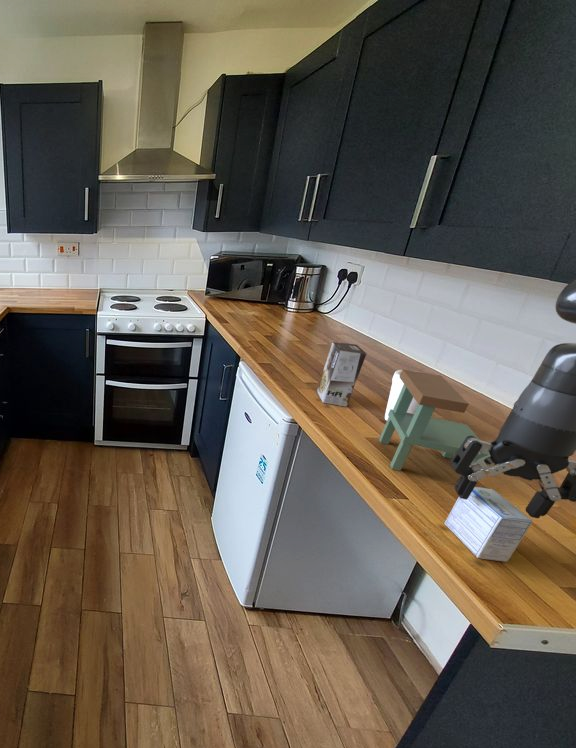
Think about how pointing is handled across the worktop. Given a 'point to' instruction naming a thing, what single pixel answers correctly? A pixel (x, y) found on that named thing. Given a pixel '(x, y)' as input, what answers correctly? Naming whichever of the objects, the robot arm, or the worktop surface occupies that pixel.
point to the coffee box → (340, 373)
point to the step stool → (426, 418)
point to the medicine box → (488, 524)
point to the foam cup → (394, 395)
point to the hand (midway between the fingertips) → (495, 505)
